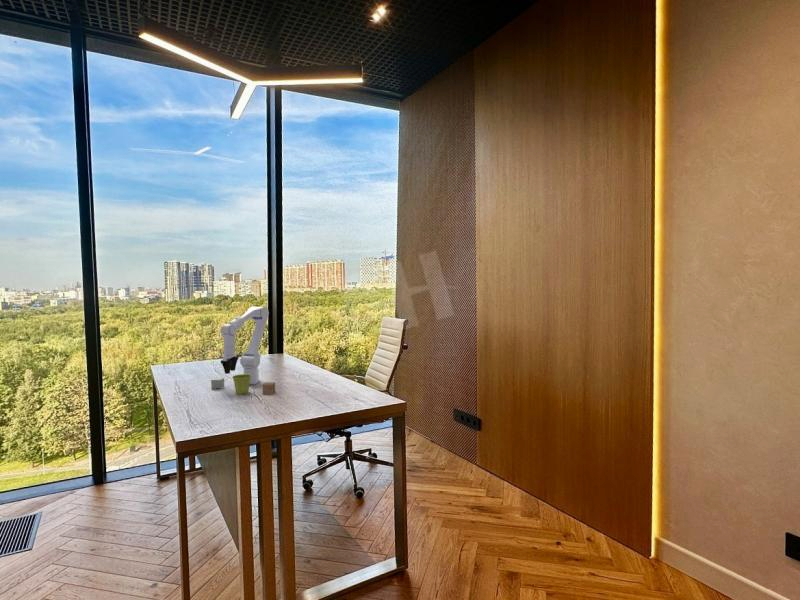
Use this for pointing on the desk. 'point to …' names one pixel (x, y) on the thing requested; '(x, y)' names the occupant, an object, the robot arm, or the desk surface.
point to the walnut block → (269, 387)
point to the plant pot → (241, 383)
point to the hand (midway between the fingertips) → (230, 372)
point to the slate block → (217, 383)
